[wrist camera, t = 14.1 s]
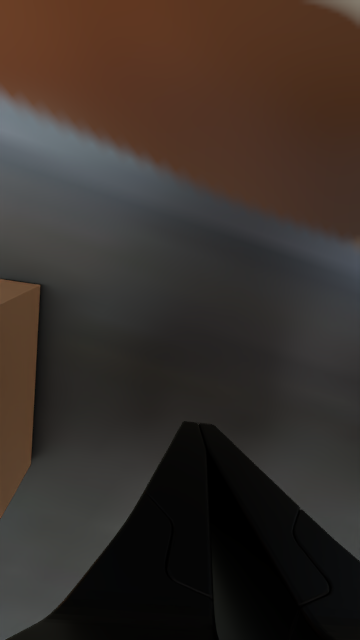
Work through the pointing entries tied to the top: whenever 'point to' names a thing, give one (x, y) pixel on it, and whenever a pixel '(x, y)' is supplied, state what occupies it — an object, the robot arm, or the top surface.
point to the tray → (16, 382)
